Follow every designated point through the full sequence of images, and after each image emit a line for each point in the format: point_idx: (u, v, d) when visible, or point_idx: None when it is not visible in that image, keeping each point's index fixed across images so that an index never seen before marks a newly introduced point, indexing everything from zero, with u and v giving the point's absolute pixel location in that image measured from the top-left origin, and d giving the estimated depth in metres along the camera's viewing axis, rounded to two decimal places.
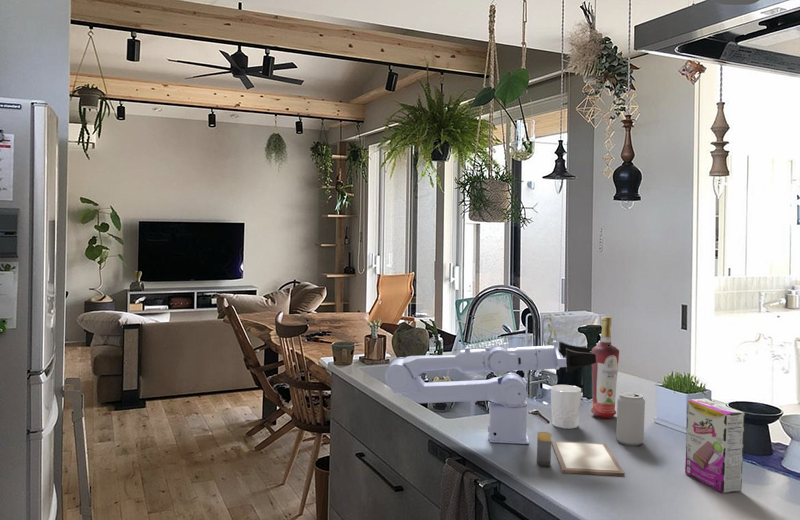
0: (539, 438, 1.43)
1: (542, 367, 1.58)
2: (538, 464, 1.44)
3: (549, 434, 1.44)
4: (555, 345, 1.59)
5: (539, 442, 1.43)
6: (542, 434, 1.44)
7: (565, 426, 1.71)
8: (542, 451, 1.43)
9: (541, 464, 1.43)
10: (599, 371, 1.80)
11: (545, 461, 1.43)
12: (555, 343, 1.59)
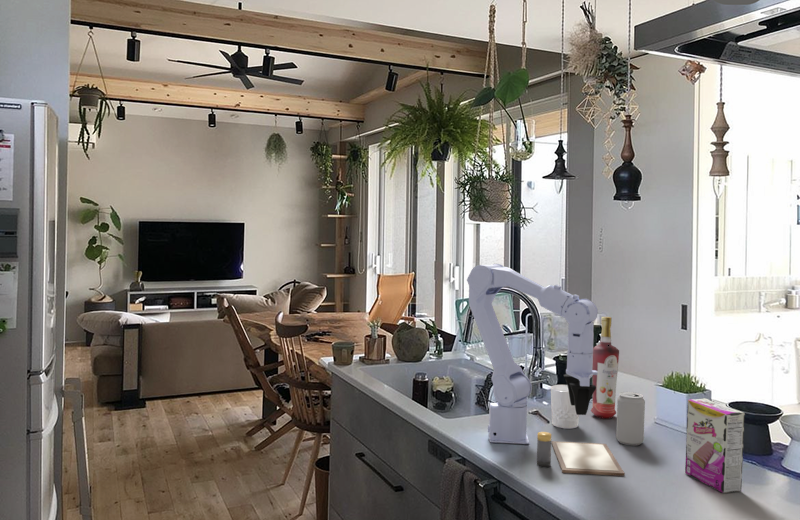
0: (539, 438, 1.43)
1: (572, 358, 1.49)
2: (538, 464, 1.44)
3: (549, 434, 1.44)
4: (593, 373, 1.50)
5: (539, 442, 1.43)
6: (542, 434, 1.44)
7: (565, 426, 1.71)
8: (542, 451, 1.43)
9: (541, 464, 1.43)
10: (599, 371, 1.80)
11: (545, 461, 1.43)
12: (596, 373, 1.50)
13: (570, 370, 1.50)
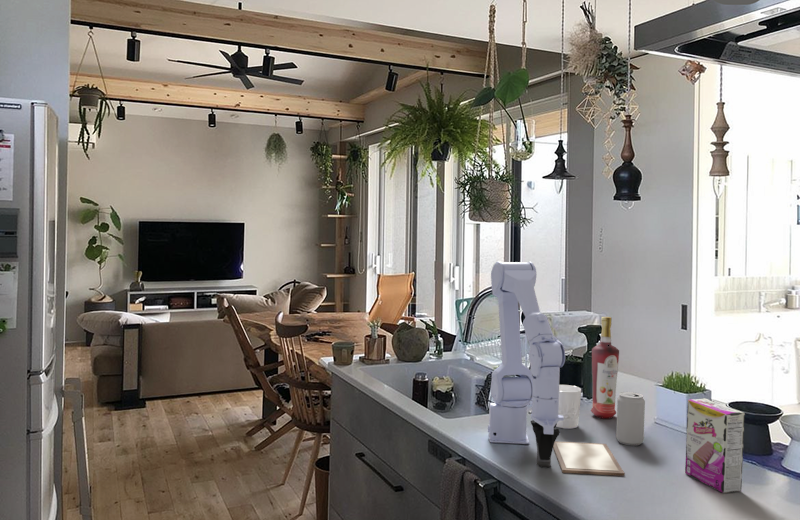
0: None
1: (537, 403, 1.42)
2: (538, 464, 1.44)
3: None
4: (559, 419, 1.42)
5: None
6: None
7: (565, 426, 1.71)
8: None
9: (541, 464, 1.43)
10: (599, 371, 1.80)
11: (545, 461, 1.43)
12: (561, 419, 1.42)
13: (535, 415, 1.42)
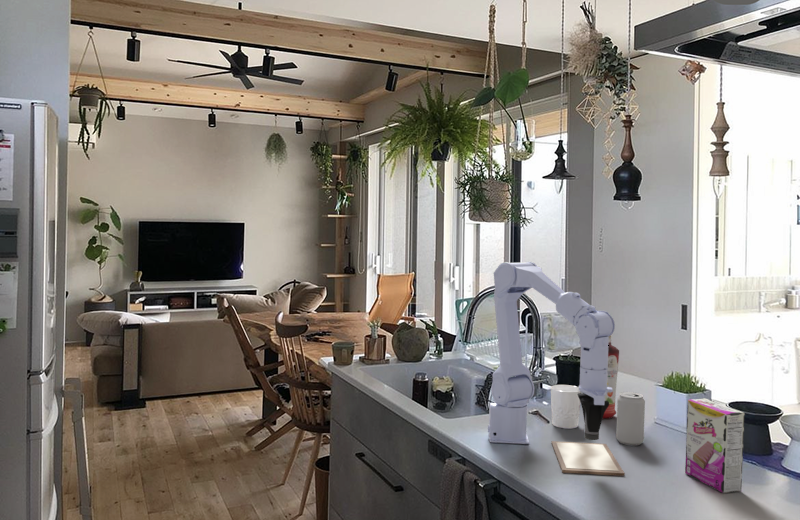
0: None
1: (585, 374, 1.39)
2: (586, 437, 1.41)
3: None
4: (608, 390, 1.40)
5: None
6: None
7: (565, 426, 1.71)
8: None
9: (589, 437, 1.41)
10: None
11: (593, 433, 1.40)
12: (610, 391, 1.40)
13: (583, 387, 1.40)
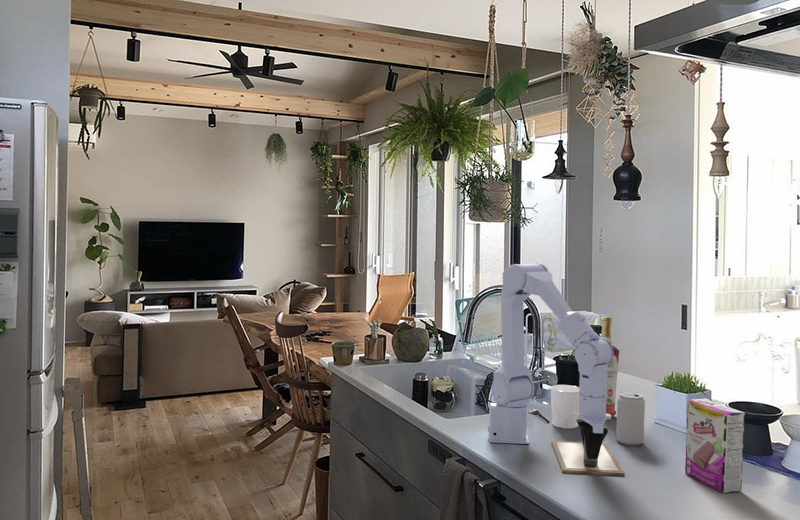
0: None
1: (584, 401, 1.40)
2: (585, 463, 1.42)
3: None
4: (607, 417, 1.41)
5: None
6: None
7: (565, 426, 1.71)
8: None
9: (588, 463, 1.41)
10: None
11: (592, 460, 1.41)
12: (609, 418, 1.41)
13: (582, 414, 1.41)
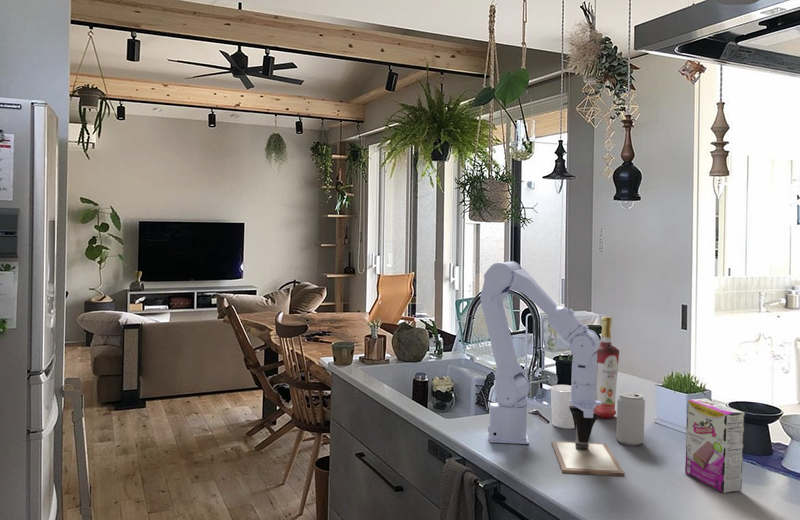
0: None
1: (576, 389, 1.51)
2: (577, 446, 1.53)
3: None
4: (597, 404, 1.52)
5: None
6: None
7: (565, 426, 1.71)
8: None
9: (580, 446, 1.52)
10: (599, 371, 1.80)
11: (584, 443, 1.52)
12: (599, 404, 1.52)
13: (574, 401, 1.52)
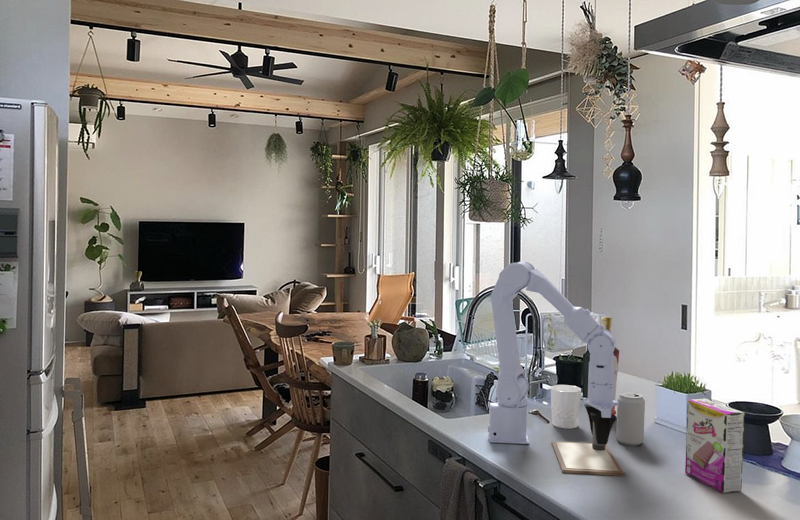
0: None
1: (593, 389, 1.51)
2: (594, 447, 1.53)
3: None
4: (614, 404, 1.52)
5: None
6: None
7: (565, 426, 1.71)
8: None
9: (597, 447, 1.53)
10: None
11: (601, 444, 1.52)
12: (616, 404, 1.52)
13: (591, 400, 1.52)
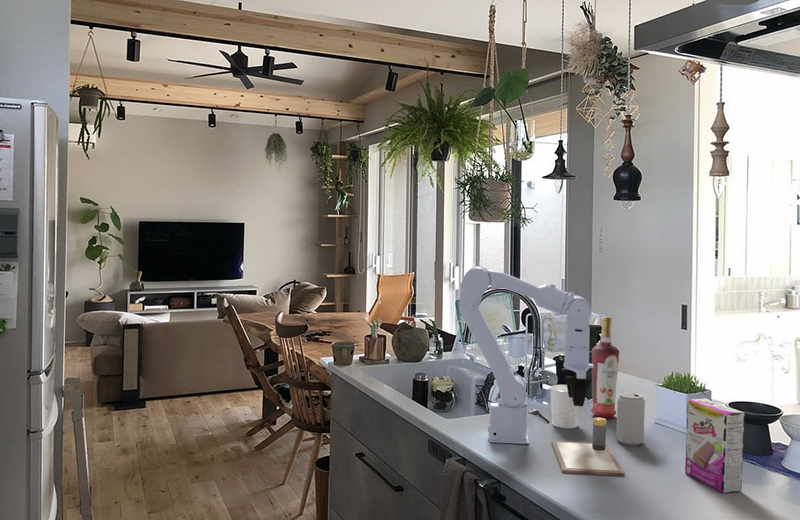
0: (595, 423, 1.53)
1: (569, 352, 1.56)
2: (594, 447, 1.53)
3: (604, 419, 1.53)
4: (590, 366, 1.57)
5: (595, 427, 1.53)
6: (598, 419, 1.53)
7: (565, 426, 1.71)
8: (598, 435, 1.52)
9: (597, 447, 1.53)
10: (599, 371, 1.80)
11: (601, 444, 1.52)
12: (592, 366, 1.57)
13: (567, 363, 1.57)
